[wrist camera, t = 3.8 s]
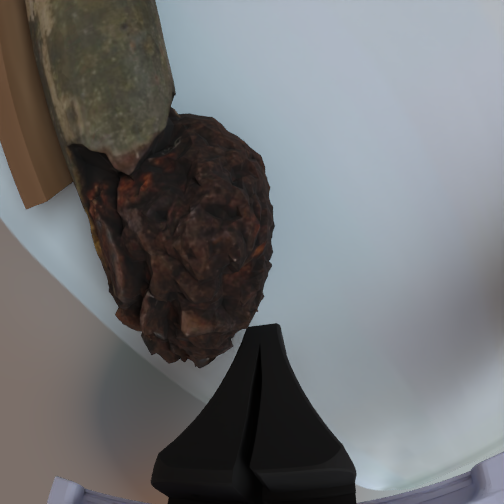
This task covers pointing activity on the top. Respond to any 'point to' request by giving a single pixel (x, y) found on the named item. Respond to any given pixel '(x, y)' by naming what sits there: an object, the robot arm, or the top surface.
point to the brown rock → (154, 179)
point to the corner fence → (27, 113)
